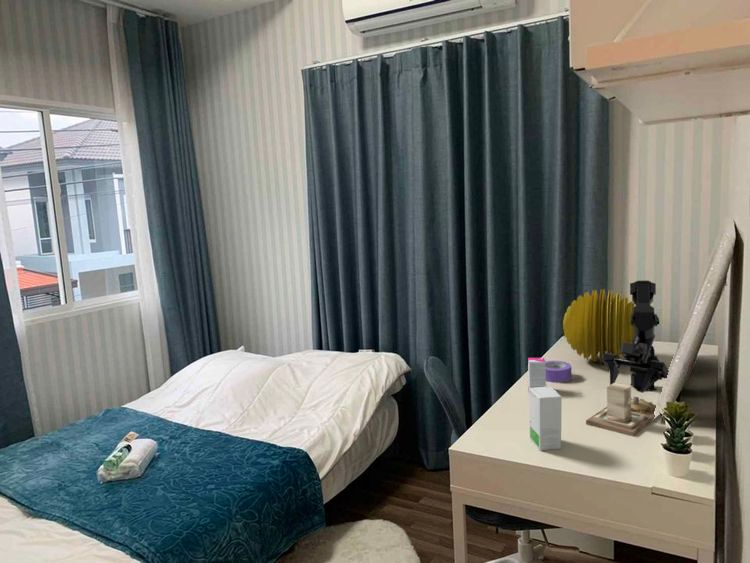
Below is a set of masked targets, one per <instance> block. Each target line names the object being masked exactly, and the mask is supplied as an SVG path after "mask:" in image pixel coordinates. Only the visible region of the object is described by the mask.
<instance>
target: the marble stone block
mask: <svg viewBox="0 0 750 563" xmlns="http://www.w3.org/2000/svg"><path fill="white" fill-rule="evenodd" d="M631 398H632V386H631V385H628V384H622V383H618V382H615V383H613V384H611V385H610V384H609V385H608V386H606V407H607V419H608V420H611V421H615V422H619V423H627V422H630V421H632V414H631Z"/></svg>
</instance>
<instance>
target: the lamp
mask: <svg viewBox="0 0 750 563" xmlns="http://www.w3.org/2000/svg"><path fill="white" fill-rule="evenodd" d="M599 291H600V292H599V295H598V292H597V289H592V291H591V295H590V293H589V291H587V292H584V294H583V296H582V295H581V294H580V295H578V296H577V299H576V300H575V299H574V300H573V301H571V304H570V305H569V306H568V307H567V309H566V312H565V313H564V316H563V322H562V328H563V329H562V330H563V334H564V337H565V338H566V342H567V343H568V345H570V348H571V350H573V351H575V350H576V354H577V355H578V356H580V357H581V356H582V355H583V359H585V360H586V361H587V360H589V359H590V358H591V362H592V363H596V362H597V359H598V356H599V362H600V364H603V365H605V364H604V362H603V361H602V356H603V354H605V353H611V354H617V356H618V358H619V359H622V356H623V353H620V349H621V344H622V343H628V344H629V343H632V341H633V338H634V335H635V334H634V327H633V326H631V314H633V308H634V307H635V304H634V302H633V301H632V300H631V301H630V302H629V297H628V296H627V295H624V297H623V298H622V293H621V292H619V291H617V293H615V296H614V290H613V289H612V290H611V289H609V290H608V293H607V295H606V290H605V289H603V288H601V289H600V290H599ZM606 296H607V297H606Z"/></svg>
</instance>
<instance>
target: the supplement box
mask: <svg viewBox="0 0 750 563" xmlns="http://www.w3.org/2000/svg"><path fill="white" fill-rule="evenodd" d="M527 360H528V361H527V364H528V365H527V371H528V372H527V373H528V376H527V378H528V394H530V390H529V388H537V387H547V384H546V382H547V381H546V362H545V361H546V360H545V357H528V358H527Z"/></svg>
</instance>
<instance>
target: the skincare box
mask: <svg viewBox="0 0 750 563" xmlns="http://www.w3.org/2000/svg"><path fill="white" fill-rule="evenodd" d="M529 390H530V393H529V440H530V441H531V442H532V443H533V444H534V445H535V446H536V448H537V449H538V450H539V451H540V452H543V451H551V450H560V449H562V404H563V403H562V401H563V400H562V398H563V397H562V396H561V395H560V394H559V393H558V392H557V390H555V389H553V388H552V387H551V385H548V386H547V385H546V387H537V388H529V389H528V391H529Z"/></svg>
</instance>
